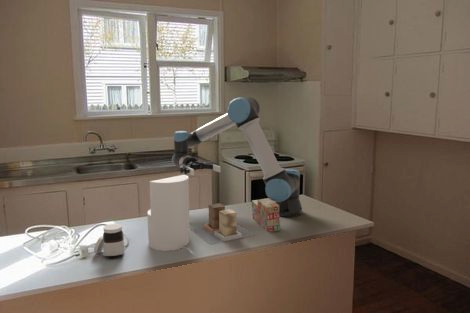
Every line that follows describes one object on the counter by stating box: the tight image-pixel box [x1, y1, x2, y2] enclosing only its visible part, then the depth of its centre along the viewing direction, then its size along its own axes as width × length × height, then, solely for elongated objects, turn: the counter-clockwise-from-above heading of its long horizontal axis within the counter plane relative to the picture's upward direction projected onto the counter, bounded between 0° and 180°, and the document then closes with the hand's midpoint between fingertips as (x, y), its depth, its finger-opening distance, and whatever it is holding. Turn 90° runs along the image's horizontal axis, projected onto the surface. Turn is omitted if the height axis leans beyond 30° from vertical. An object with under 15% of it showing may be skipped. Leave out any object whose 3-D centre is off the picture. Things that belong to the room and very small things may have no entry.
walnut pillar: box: [208, 202, 226, 229], centre depth 182 cm, size 6×6×11 cm
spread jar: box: [93, 223, 125, 260], centre depth 155 cm, size 12×11×12 cm
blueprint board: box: [190, 222, 256, 245], centre depth 178 cm, size 22×20×2 cm
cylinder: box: [146, 174, 191, 252], centre depth 166 cm, size 17×17×28 cm
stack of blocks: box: [251, 197, 281, 233], centre depth 189 cm, size 21×6×12 cm, turn 16°
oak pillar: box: [219, 208, 237, 237], centre depth 173 cm, size 6×6×11 cm
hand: (206, 171), depth 187 cm, fingers open, 13 cm apart
